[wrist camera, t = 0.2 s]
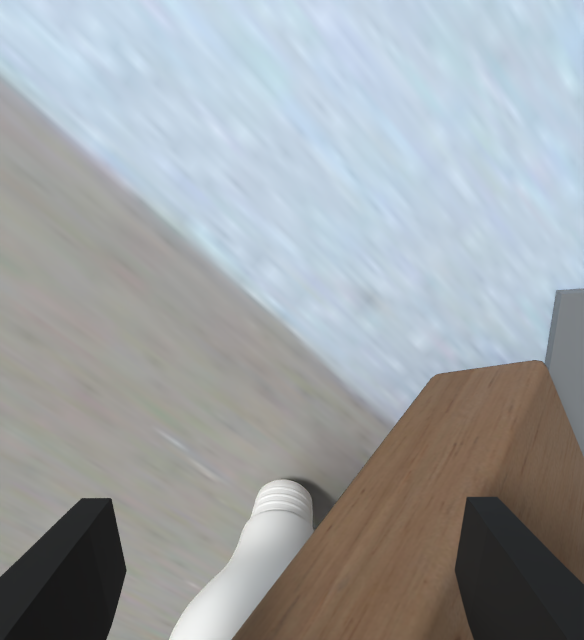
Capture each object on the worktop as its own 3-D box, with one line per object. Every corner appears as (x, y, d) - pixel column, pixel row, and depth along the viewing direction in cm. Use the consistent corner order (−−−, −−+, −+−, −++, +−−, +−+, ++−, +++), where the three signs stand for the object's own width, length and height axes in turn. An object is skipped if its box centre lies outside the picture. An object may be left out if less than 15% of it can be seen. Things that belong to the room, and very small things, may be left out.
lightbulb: (287, 410, 20) (237, 704, 10) (380, 495, 22) (418, 827, 12) (194, 482, 22) (77, 785, 12) (285, 555, 24) (247, 881, 14)
